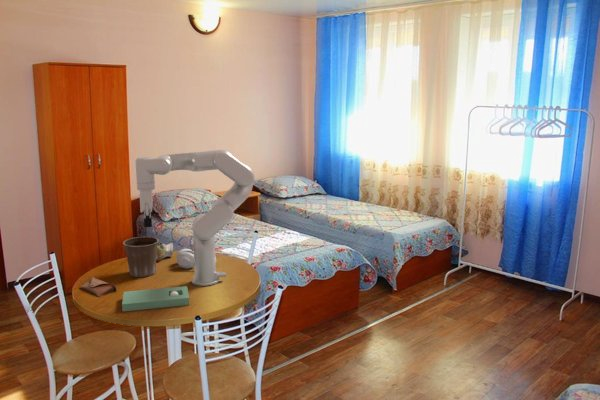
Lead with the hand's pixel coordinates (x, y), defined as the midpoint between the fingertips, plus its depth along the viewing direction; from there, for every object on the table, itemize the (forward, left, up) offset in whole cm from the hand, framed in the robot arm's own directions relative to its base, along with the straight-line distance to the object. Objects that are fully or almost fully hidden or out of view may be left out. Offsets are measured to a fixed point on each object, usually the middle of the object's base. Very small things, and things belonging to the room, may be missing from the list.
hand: (148, 226), depth 232 cm
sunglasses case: (+23, 0, -28) cm, 36 cm away
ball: (-9, +20, -25) cm, 34 cm away
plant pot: (+4, -17, -27) cm, 32 cm away
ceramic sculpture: (-5, -39, -28) cm, 48 cm away
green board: (-2, +21, -27) cm, 34 cm away
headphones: (-22, -24, -28) cm, 43 cm away
